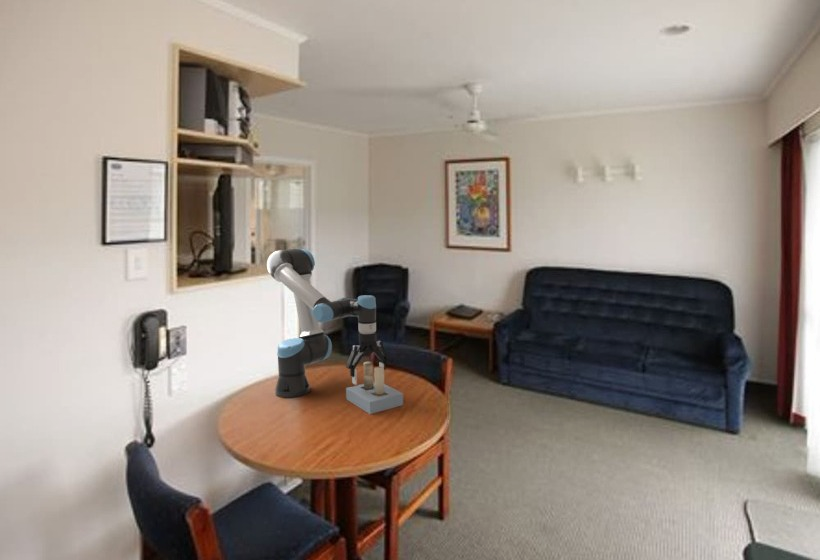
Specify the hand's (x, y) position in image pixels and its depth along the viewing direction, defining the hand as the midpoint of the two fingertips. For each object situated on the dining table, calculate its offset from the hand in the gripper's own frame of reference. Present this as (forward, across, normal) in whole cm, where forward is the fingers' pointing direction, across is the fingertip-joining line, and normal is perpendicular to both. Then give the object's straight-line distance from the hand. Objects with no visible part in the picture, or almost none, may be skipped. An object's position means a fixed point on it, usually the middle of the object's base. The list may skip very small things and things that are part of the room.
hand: (368, 380), depth 207 cm
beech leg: (+8, 0, 0) cm, 8 cm away
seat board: (+8, 0, -4) cm, 9 cm away
